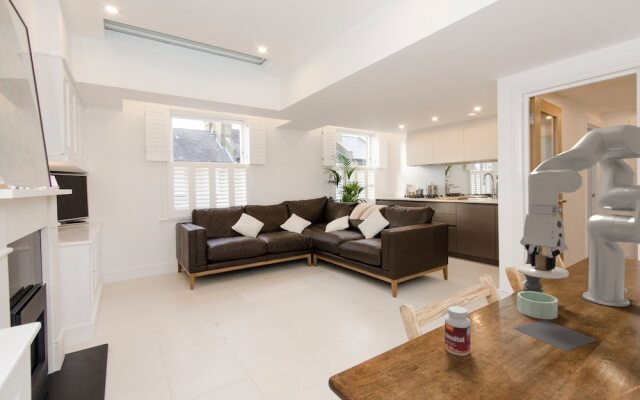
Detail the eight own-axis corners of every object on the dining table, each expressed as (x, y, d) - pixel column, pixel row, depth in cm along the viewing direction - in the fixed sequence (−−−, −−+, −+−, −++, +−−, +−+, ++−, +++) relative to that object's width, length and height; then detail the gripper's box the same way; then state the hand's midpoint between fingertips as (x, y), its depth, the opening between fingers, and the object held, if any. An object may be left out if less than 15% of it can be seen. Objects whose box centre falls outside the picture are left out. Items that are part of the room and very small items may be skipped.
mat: (544, 321, 99) (544, 319, 99) (597, 341, 86) (597, 339, 86) (513, 329, 93) (513, 328, 93) (565, 352, 80) (565, 350, 80)
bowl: (531, 304, 112) (531, 289, 112) (565, 316, 102) (565, 299, 101) (509, 309, 108) (510, 294, 107) (543, 322, 98) (543, 305, 97)
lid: (534, 264, 108) (534, 249, 108) (578, 274, 96) (578, 257, 96) (509, 270, 103) (509, 254, 103) (552, 281, 91) (552, 262, 91)
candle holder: (546, 300, 115) (547, 233, 114) (527, 300, 116) (528, 233, 115) (538, 295, 121) (538, 230, 120) (520, 294, 122) (520, 230, 121)
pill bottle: (441, 351, 82) (441, 310, 82) (449, 342, 87) (449, 303, 86) (466, 359, 78) (466, 316, 78) (473, 349, 83) (473, 308, 82)
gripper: (580, 211, 92) (580, 272, 93) (524, 208, 108) (524, 260, 109) (565, 213, 89) (564, 276, 90) (509, 209, 105) (509, 263, 106)
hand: (542, 267), depth 100 cm, fingers closed on lid, 4 cm apart
